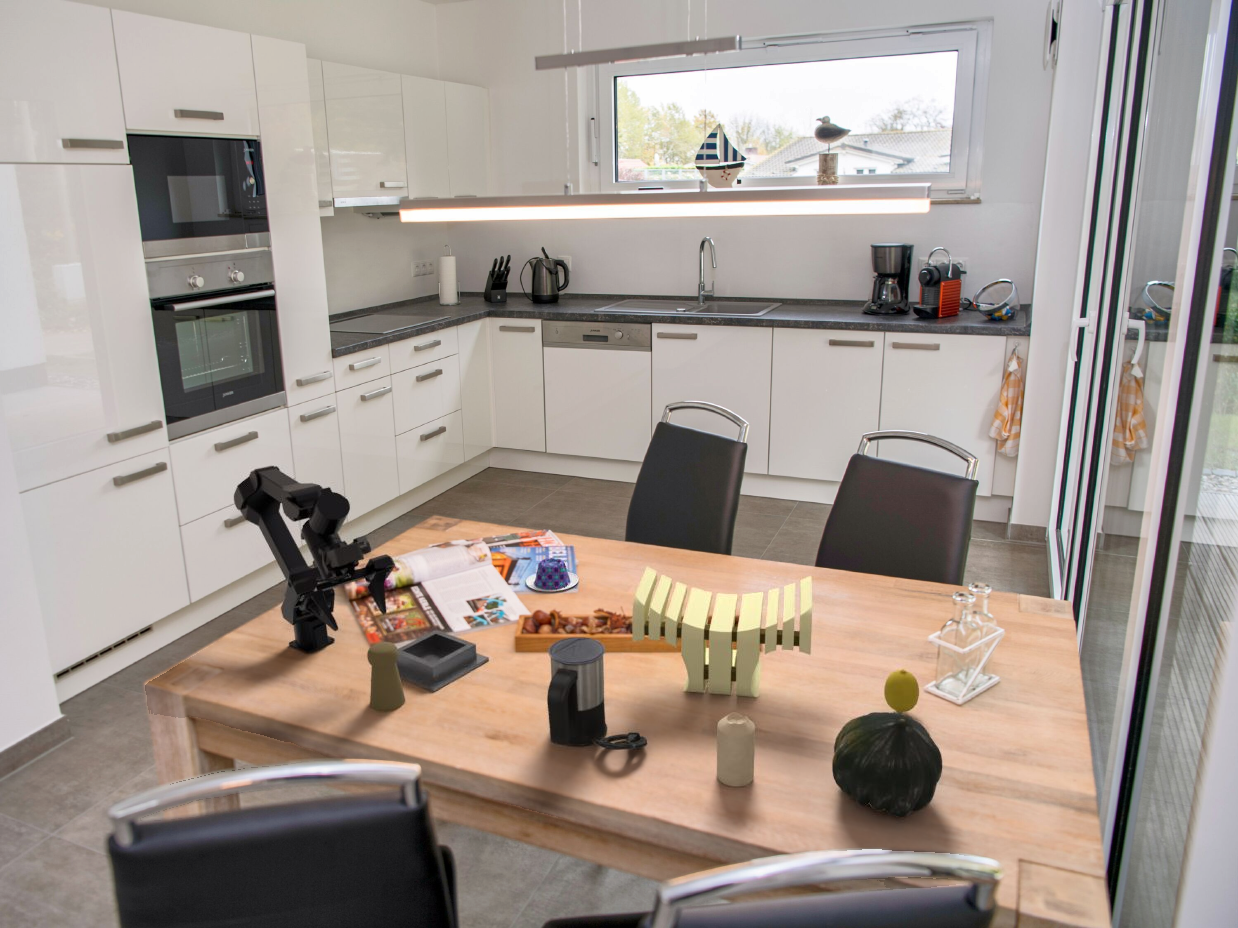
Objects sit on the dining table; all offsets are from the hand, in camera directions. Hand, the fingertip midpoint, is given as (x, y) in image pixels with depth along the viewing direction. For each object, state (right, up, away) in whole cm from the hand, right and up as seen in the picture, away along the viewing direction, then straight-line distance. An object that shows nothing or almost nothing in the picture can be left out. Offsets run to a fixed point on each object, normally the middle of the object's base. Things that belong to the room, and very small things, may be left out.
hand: (361, 621), depth 160 cm
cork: (+5, -14, -1) cm, 15 cm away
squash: (+84, -20, -29) cm, 91 cm away
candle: (+63, -19, -24) cm, 70 cm away
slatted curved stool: (+64, -11, +4) cm, 65 cm away
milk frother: (+42, -17, -13) cm, 47 cm away
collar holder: (+11, -10, +11) cm, 18 cm away
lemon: (+93, -14, -8) cm, 94 cm away
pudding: (+30, 0, +48) cm, 56 cm away
